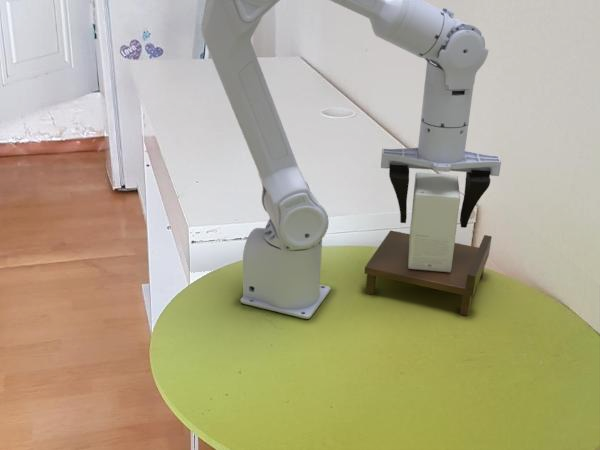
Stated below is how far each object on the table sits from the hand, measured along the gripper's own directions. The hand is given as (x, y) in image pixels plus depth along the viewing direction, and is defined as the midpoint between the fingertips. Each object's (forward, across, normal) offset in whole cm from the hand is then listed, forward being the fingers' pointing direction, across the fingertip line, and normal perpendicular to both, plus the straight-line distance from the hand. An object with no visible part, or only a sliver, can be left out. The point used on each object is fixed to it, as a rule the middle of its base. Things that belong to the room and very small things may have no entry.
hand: (433, 222), depth 97 cm
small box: (+5, 0, 0) cm, 5 cm away
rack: (+9, 0, 0) cm, 9 cm away
